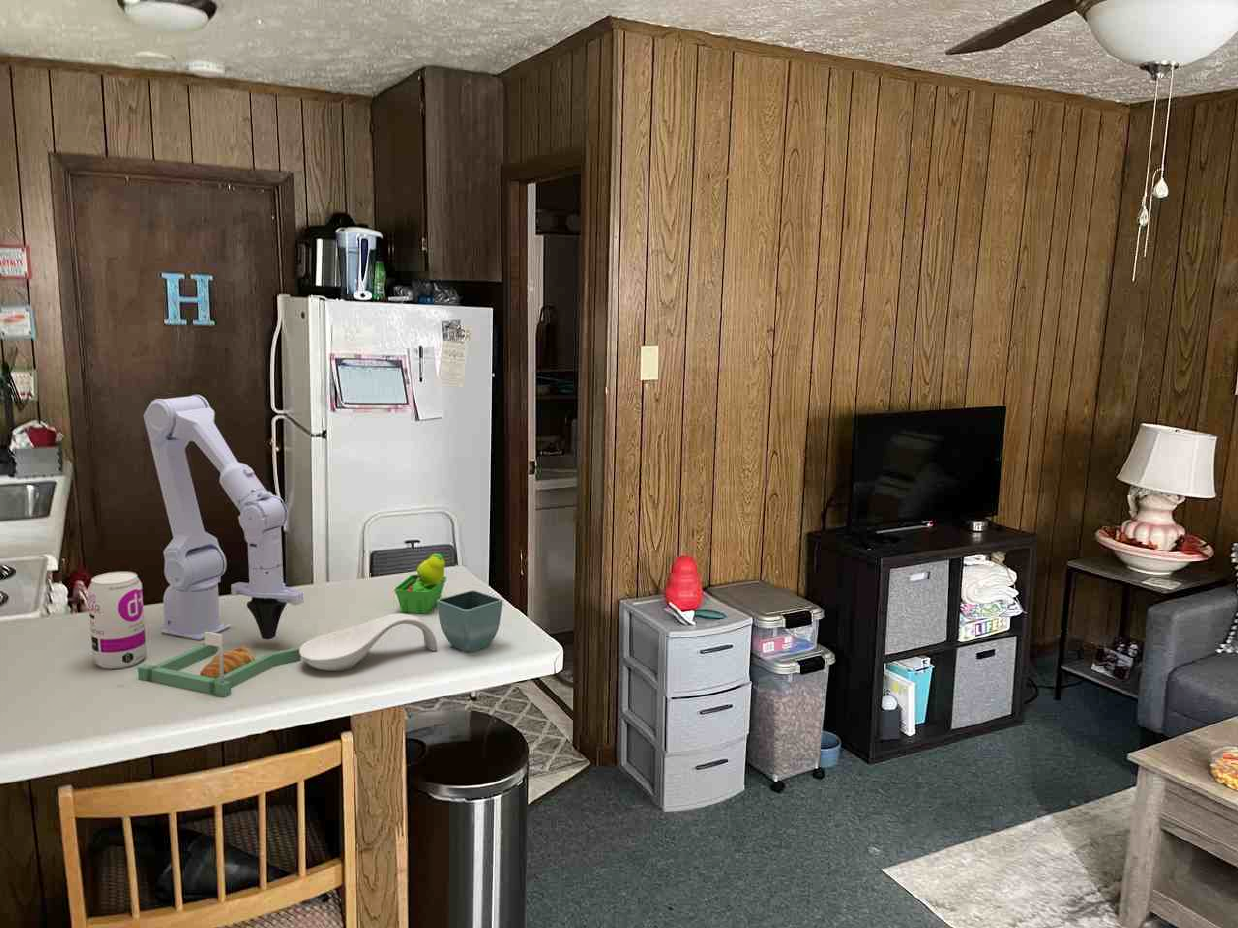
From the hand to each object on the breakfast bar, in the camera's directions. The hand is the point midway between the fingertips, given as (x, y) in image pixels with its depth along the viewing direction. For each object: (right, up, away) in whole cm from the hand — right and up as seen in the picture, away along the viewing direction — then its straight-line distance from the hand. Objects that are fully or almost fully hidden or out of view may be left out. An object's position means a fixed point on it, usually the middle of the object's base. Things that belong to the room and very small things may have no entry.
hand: (268, 637), depth 178 cm
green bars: (-4, -4, -11) cm, 12 cm away
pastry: (-2, -4, -12) cm, 13 cm away
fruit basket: (+23, +2, +24) cm, 33 cm away
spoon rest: (+19, -3, -4) cm, 20 cm away
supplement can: (-23, -3, -8) cm, 24 cm away
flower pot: (+36, -2, +2) cm, 36 cm away
